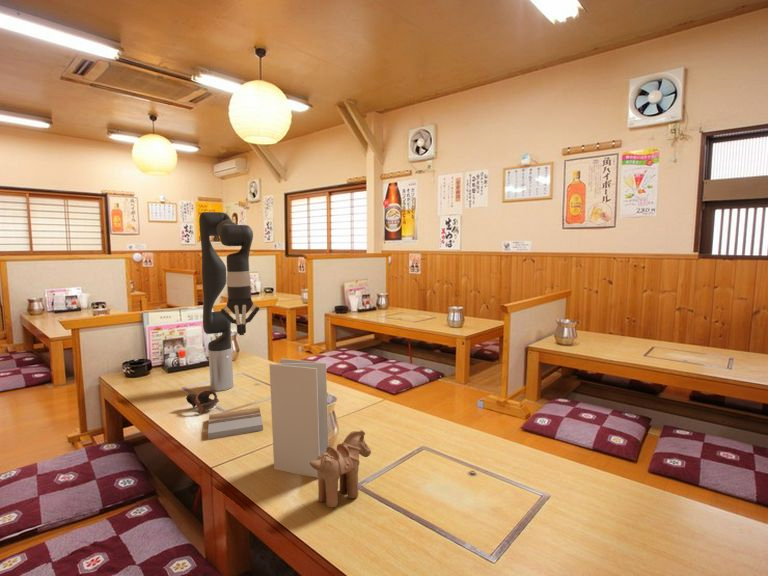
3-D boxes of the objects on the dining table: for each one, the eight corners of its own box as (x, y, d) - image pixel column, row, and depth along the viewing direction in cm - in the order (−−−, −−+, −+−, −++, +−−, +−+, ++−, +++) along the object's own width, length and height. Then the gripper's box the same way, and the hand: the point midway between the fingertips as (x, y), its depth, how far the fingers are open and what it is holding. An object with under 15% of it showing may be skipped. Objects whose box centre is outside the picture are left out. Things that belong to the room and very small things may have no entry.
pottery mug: (221, 403, 165) (222, 389, 161) (212, 423, 158) (213, 409, 153) (190, 397, 164) (190, 383, 160) (179, 417, 156) (179, 402, 152)
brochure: (329, 467, 117) (326, 362, 114) (320, 478, 112) (316, 368, 109) (285, 459, 122) (280, 358, 119) (274, 469, 117) (269, 364, 113)
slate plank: (208, 429, 141) (208, 424, 141) (261, 421, 147) (261, 416, 147) (208, 439, 135) (207, 433, 135) (263, 430, 141) (262, 424, 141)
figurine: (379, 487, 108) (378, 431, 106) (321, 517, 96) (319, 455, 94) (361, 475, 113) (360, 422, 111) (304, 503, 102) (302, 444, 100)
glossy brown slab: (209, 420, 149) (209, 413, 149) (259, 412, 155) (259, 406, 155) (209, 429, 142) (208, 422, 142) (261, 420, 148) (260, 414, 148)
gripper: (258, 282, 148) (260, 331, 150) (218, 284, 143) (221, 334, 146) (260, 284, 141) (262, 335, 143) (217, 286, 136) (220, 339, 139)
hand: (241, 334), depth 144 cm, fingers closed
